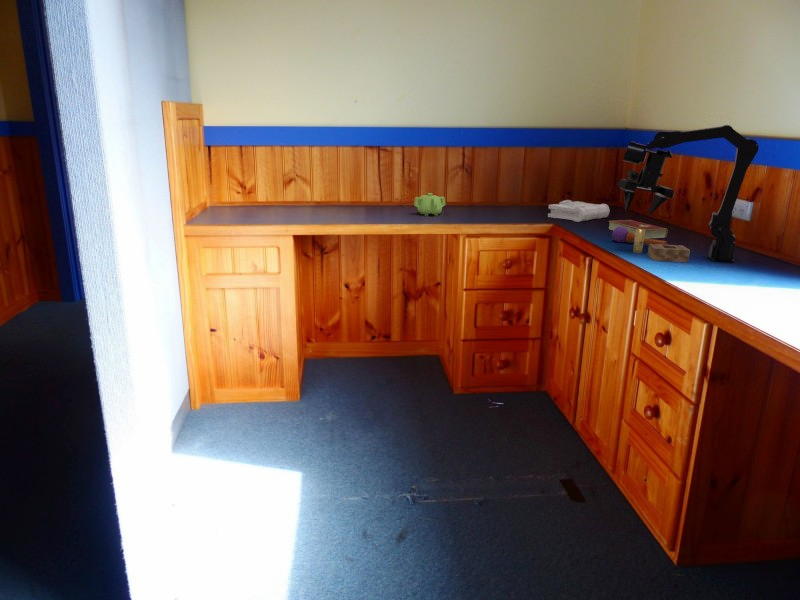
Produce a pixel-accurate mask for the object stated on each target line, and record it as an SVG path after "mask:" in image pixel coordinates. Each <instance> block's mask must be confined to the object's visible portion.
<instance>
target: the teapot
mask: <svg viewBox="0 0 800 600" xmlns="http://www.w3.org/2000/svg"><path fill="white" fill-rule="evenodd" d="M413 206H414V207H416V209H417V211H418V213H420V215H423V216H424V217H429V216H430V215H433V216H436V217H438V216H439V215H438V214H441V213H442V211H443V210H442V209H443V207H444V206H446V198H445V196H438V195H433V192H427V194H426V195H425V194H423V195H420V196H415V197H414V202H413Z"/></svg>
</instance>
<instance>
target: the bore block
mask: <svg viewBox="0 0 800 600" xmlns="http://www.w3.org/2000/svg"><path fill="white" fill-rule="evenodd" d="M690 255H691V250H690V249H689V248H687V247H686V246H685V245H682V244H681V245H679V244H678V245H677V244H667V245H663V244H649V245H648V251H647V256H648V257H649V258H650V259H651V260H652V261H654V262H655V261H656V262H657V261H658V262H674V263H675V262H676V263H689V261H690V260H689V259H690Z"/></svg>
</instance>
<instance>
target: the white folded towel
mask: <svg viewBox="0 0 800 600" xmlns="http://www.w3.org/2000/svg"><path fill="white" fill-rule="evenodd" d="M548 210H550V212H549V213H547V217H548V218H554V219H562V220H563V219H564V220H570V221H573V222H576V223H577V222H578V223H580V222H585V221H590V220H599V219H604V218H607V217H609V214H610V207H609V205H608V204H606V203H601V204H596V203H595V204H594V203H590V202H589V203H588V202H584V201H579V200H577V201H573V200H570V199H566V200H562V201H560V202H559V203H555V204H554V203H553V204H548Z"/></svg>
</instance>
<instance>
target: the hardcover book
mask: <svg viewBox="0 0 800 600" xmlns="http://www.w3.org/2000/svg"><path fill="white" fill-rule="evenodd" d="M607 222H608V223H609V226H608V230H611V231H612V232H613V231H614V229H616V228H617V227H625V228H626V229H627V230H628V231H631V232H632V233H633V234H635V233H636V229H644V230H645V235H644V238H646V239H659V238H660V239H661V238H667V237H668V228H665V227H662V226H658V225H657V226H656V225H653V224H650V223H645V222H640V221H637V220H632V219H625V220H621V219H619V220H608V221H607Z"/></svg>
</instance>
